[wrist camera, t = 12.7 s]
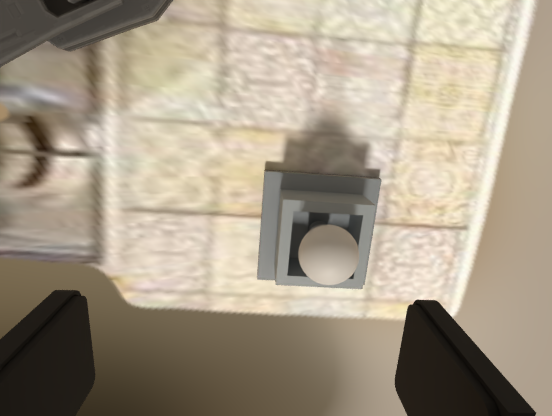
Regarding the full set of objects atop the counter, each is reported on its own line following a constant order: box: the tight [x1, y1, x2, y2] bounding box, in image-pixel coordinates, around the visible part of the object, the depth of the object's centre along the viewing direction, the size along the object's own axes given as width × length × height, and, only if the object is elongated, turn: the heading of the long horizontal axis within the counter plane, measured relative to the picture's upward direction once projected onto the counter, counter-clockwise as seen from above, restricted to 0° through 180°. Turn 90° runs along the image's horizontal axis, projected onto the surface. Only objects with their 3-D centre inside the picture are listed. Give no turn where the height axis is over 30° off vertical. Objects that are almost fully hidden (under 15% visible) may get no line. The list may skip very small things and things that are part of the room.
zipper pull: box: [0, 0, 173, 67], centre depth 34 cm, size 9×7×25 cm
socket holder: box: [257, 170, 381, 289], centre depth 42 cm, size 14×14×6 cm
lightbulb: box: [298, 221, 359, 285], centre depth 38 cm, size 6×6×11 cm
